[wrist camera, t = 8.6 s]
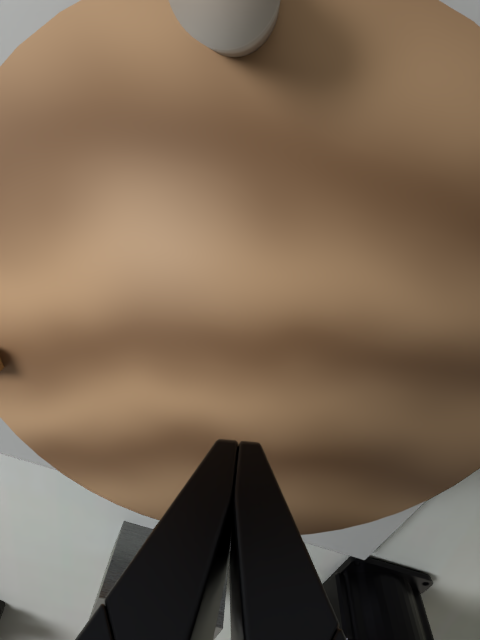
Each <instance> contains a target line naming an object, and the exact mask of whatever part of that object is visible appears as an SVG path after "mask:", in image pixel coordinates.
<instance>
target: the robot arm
mask: <svg viewBox="0 0 480 640" xmlns="http://www.w3.org/2000/svg"><path fill="white" fill-rule="evenodd" d="M230 543H231V546H230ZM229 553H230V615H231V640H434V638H433V635H432V632H431V628H430V625H429V622H428V618H427V615H426V612H425V608H424V605H423V601H422V598H421V595H420V594H421V593H423V592H424V591H425V590H427V589H428V588H429V587H430V586H432V584H433V582H432V579H431V577H430V576H429V575H427V574H424V573H420V572H417V571H413V570H410V569H407V568H403V567H400V566H396V565H393V564H390V563H386V562H383V561H379V560H376V559H373V558H369V557H367V558H366V559H365V560H362V559H359V558H355V557H352V556H350V557H349V558H348V559H347V560H346V561H345V562H344V563H343V564H342V565H341V566H340V567H339V568H338V569H337V570H336V571H335V572H334V573H333V574H332V575H331V576H330V577H329V578H328V579H327V580H326V581H325V582H324V583H323V584H322V583H321V581H320V578H319V576H318V574H317V571H316V569H315V567H314V565H313V562H312V560H311V558H310V555H309V553H308V551H307V549H306V546H305V544H304V542H303V539H302V537H301V535H300V532H299V530H298V528H297V526H296V523H295V521H294V519H293V516H292V514H291V512H290V510H289V507H288V505H287V503H286V500H285V498H284V496H283V494H282V491H281V489H280V487H279V484H278V482H277V480H276V478H275V475H274V473H273V471H272V468H271V466H270V464H269V461H268V459H267V457H266V455H265V452H264V450H263V448H262V446H261V444H260V443H259V442H251V441H240V442H239V445H238V442H237V441H236V440H228V439H218V440H217V441H216V442H215V443H214V444H213V446H212V447H211V449H210V450H209V451H208V453H207V454H206V456H205V457H204V458H203V460H202V461H201V463H200V464H199V466H198V467H197V468H196V470H195V471H194V473H193V474H192V475H191V477H190V478H189V480H188V481H187V483H186V484H185V485H184V487H183V488H182V490H181V491H180V493H179V494H178V495H177V497H176V498H175V500H174V501H173V502H172V504H171V505H170V507H169V508H168V510H167V511H166V512H165V514H164V515H163V517H162V518H161V519H160V521H159V522H158V524H157V525H156V527H155V528H154V529H153V531H152V532H151V534H150V535H149V536H148V538H147V539H146V541H145V542H144V544H143V545H142V546H141V548H140V549H139V551H138V552H137V553H136V555H135V556H134V558H133V559H132V561H131V562H130V563H129V565H128V566H127V568H126V569H125V570H124V572H123V573H122V575H121V576H120V578H119V579H118V580H117V582H116V583H115V585H114V586H113V588H112V589H111V590H110V592H109V593H108V595H107V596H106V597H105V599H104V602H105V604H101V605H100V606H99V607H98V608H97V610H96V611H95V613H94V614H93V615H92V617H91V618H90V620H89V621H88V623H87V624H86V625H85V627H84V628H83V630H82V631H81V632H80V634H79V635H78V636H77V638H76V639H75V640H213V638H214V633H215V628H216V623H217V618H218V613H219V608H220V603H221V598H222V593H223V588H224V583H225V578H226V573H227V567H228V561H229Z"/></svg>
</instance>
